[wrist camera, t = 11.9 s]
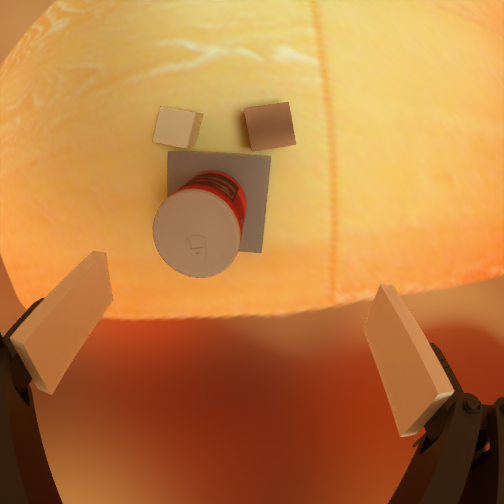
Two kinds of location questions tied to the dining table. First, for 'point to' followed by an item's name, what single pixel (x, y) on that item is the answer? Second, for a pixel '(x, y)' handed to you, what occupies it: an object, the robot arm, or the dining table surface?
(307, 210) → the dining table surface
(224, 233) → the canned food
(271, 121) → the walnut block
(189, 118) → the beige block
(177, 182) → the slate coaster
